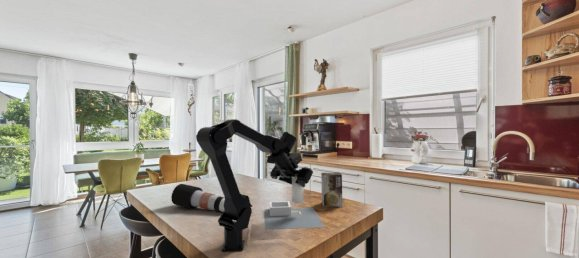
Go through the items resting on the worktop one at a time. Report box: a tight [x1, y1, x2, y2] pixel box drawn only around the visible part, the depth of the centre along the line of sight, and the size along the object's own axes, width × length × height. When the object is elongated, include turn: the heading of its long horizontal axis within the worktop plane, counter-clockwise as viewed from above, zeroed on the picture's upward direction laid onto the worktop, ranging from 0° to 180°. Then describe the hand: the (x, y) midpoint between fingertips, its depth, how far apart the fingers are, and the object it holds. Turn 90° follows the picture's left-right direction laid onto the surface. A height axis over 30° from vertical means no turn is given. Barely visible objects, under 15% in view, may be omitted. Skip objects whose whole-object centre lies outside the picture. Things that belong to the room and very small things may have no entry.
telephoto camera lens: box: [170, 183, 225, 213], centre depth 118 cm, size 10×34×10 cm, turn 70°
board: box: [264, 200, 326, 230], centre depth 105 cm, size 24×22×5 cm
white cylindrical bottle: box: [291, 176, 304, 204], centre depth 106 cm, size 5×5×12 cm
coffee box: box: [320, 172, 343, 209], centre depth 123 cm, size 9×6×16 cm
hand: (299, 185), depth 107 cm, fingers closed on white cylindrical bottle, 5 cm apart
